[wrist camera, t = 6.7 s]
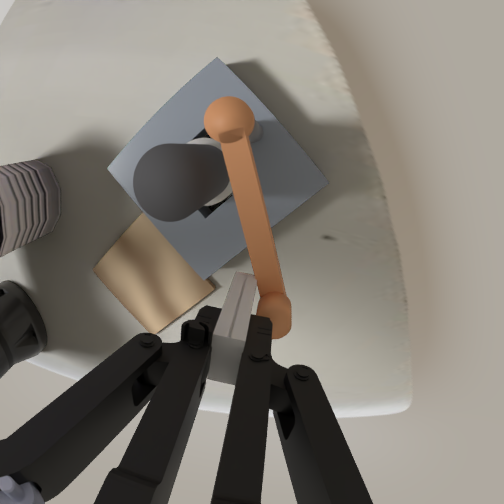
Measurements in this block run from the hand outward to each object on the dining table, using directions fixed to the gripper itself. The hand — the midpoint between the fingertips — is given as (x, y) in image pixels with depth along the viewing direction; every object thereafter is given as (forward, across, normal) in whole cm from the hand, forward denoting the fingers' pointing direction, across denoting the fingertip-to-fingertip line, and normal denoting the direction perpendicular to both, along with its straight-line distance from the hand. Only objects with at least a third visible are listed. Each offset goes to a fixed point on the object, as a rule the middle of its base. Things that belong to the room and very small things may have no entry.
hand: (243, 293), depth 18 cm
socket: (+14, -6, +6) cm, 16 cm away
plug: (+14, -6, +6) cm, 16 cm away
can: (+15, -32, -1) cm, 35 cm away
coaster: (+14, -12, -8) cm, 21 cm away
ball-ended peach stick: (+1, 0, +5) cm, 5 cm away
